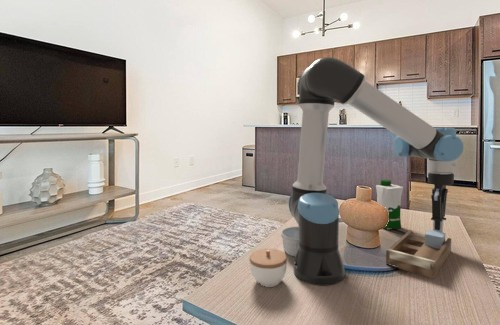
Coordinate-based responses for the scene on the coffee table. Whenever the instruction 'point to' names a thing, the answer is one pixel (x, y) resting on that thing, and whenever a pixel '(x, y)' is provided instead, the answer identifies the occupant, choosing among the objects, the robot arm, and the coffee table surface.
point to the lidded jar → (268, 266)
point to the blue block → (434, 239)
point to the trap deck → (417, 255)
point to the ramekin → (290, 240)
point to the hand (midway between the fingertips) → (437, 237)
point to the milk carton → (390, 201)
